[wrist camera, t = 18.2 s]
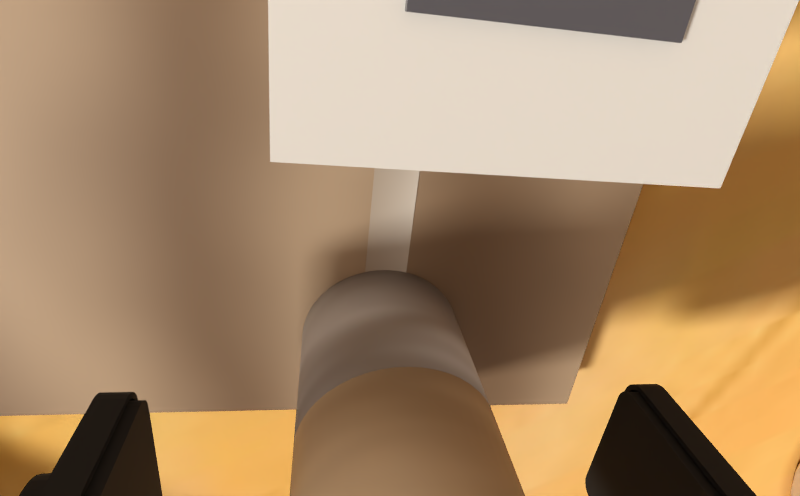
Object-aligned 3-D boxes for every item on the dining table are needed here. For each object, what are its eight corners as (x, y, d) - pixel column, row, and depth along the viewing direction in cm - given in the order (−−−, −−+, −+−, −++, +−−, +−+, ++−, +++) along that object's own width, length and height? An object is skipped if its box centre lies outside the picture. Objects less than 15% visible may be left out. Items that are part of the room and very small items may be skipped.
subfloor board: (793, -388, 8) (862, -443, 7) (550, 376, 16) (567, 404, 15) (-735, -856, 5) (-1012, -1076, 4) (-134, 384, 13) (-176, 419, 12)
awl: (467, 272, 12) (722, 785, 4) (443, 394, 14) (592, 917, 6) (304, 267, 12) (251, 859, 4) (300, 395, 13) (259, 980, 5)
